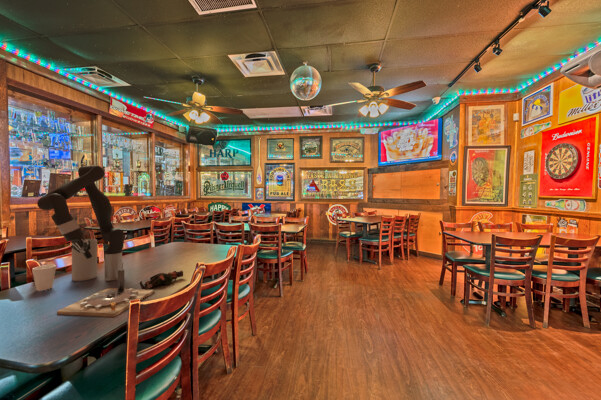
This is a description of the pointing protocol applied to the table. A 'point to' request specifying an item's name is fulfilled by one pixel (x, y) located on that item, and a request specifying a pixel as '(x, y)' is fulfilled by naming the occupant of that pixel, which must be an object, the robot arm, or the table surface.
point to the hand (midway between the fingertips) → (89, 257)
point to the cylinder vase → (84, 263)
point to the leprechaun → (161, 279)
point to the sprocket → (110, 295)
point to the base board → (104, 311)
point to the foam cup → (44, 276)
